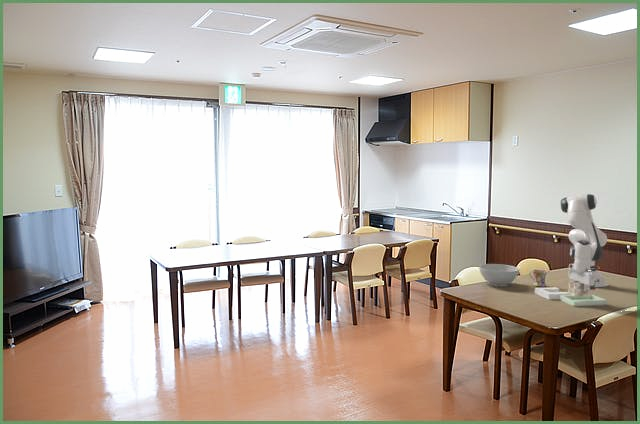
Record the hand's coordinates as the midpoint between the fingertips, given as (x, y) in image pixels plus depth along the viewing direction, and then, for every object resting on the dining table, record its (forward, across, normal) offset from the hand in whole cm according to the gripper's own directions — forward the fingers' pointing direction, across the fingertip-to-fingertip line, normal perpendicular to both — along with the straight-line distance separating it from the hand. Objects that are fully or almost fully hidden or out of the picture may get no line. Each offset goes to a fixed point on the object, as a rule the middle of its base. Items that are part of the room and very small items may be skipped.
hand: (580, 289), depth 316 cm
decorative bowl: (+9, +50, +28) cm, 58 cm away
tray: (+8, 0, -2) cm, 9 cm away
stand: (+8, +17, +8) cm, 20 cm away
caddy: (+3, 0, -2) cm, 3 cm away
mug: (+8, +44, +2) cm, 45 cm away
